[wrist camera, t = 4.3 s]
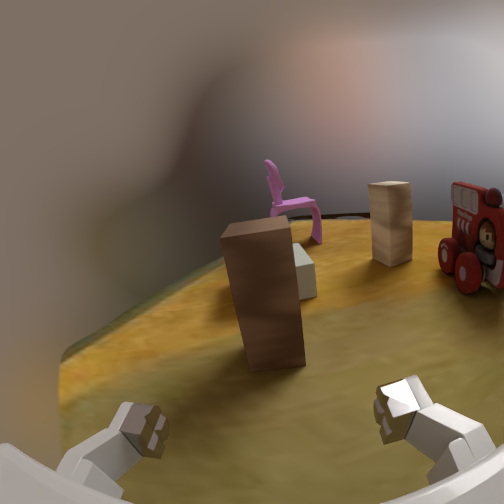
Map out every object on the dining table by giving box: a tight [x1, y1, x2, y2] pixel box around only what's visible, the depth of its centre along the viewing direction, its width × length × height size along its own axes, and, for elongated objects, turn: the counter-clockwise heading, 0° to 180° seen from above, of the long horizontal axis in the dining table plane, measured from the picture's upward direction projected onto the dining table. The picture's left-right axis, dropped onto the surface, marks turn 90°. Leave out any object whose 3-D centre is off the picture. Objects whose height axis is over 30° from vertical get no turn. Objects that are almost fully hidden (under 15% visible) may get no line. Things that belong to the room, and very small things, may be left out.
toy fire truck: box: [438, 182, 504, 294], centre depth 21 cm, size 7×12×10 cm, turn 166°
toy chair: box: [264, 160, 322, 244], centre depth 45 cm, size 8×9×15 cm
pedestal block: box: [293, 243, 317, 300], centre depth 31 cm, size 8×8×4 cm
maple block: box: [368, 181, 412, 267], centre depth 31 cm, size 4×4×10 cm
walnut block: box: [220, 215, 306, 372], centre depth 19 cm, size 4×4×10 cm
